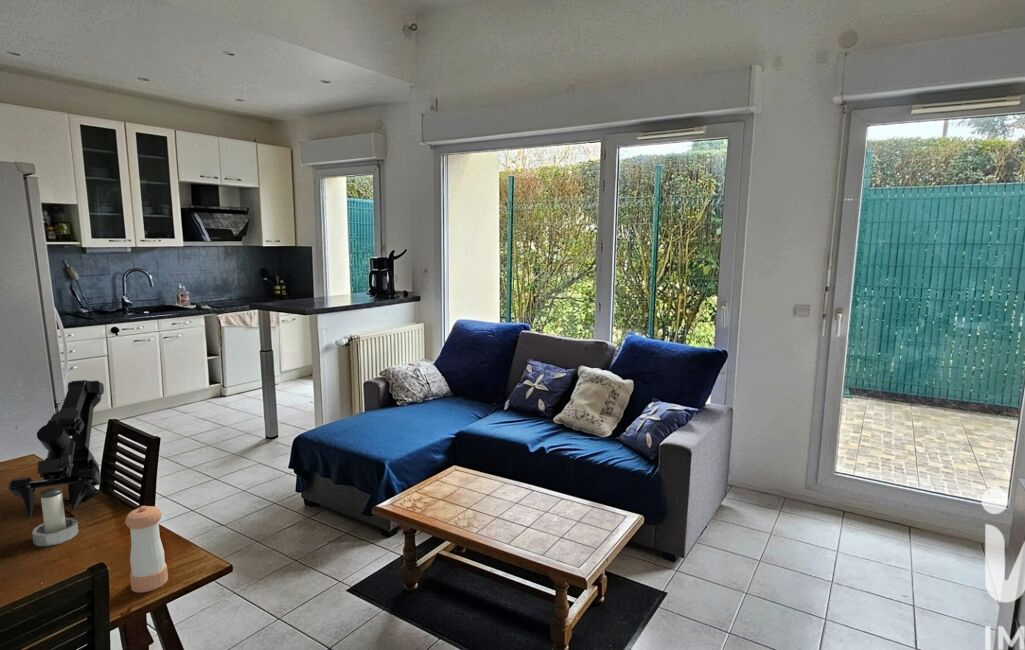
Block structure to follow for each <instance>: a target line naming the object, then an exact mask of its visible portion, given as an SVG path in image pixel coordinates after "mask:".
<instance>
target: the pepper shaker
mask: <svg viewBox="0 0 1025 650" xmlns="http://www.w3.org/2000/svg"><path fill="white" fill-rule="evenodd" d="M162 513H163V512H162V510H161V509H160V508H158V507H157V506H153V505H152V506H151V505H150V506H149V505H148V506H147V505H141V506H140V507H138V508H135V509H133V510H131V511H130V512H129V513H128V514H127V516H126V518H125V520H124V521H125V522H124V523H125V525H126V527H128V528H129V531H130V540H131V541H130V542H131V547H130V554H129V555H130V556H129V562H130V570H131V571H130V573H129V580H130V587H131V588H130V589H131V591H133V592H134V593H146V592H151V591H154V590H155V591H156V590H157V589H159V588H161V587H163V586H164V585H165V584H166V583H167V582H168V579H169V575H168V565H167V563H166V561H165V550H164V546H163V543H162V540H161V536H160V525H159V521H160V520H161V518H162V515H163V514H162Z"/></svg>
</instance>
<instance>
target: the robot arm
mask: <svg viewBox="0 0 1025 650" xmlns="http://www.w3.org/2000/svg"><path fill="white" fill-rule="evenodd" d="M104 392H105V386H104V384H103V382H100V381H99V380H86V379H81V380H71V381H69V382H68V383H67V392H66V395H65V398H64V400H63V403H62V405H61V407H60V409H59V411H57V412H55V413H54V414H53V413H52V416H51V418H50V419H49V420H48V421H47V423H46V424H44V425H42V427H41V428H39V429H38V431H37V433H36V438H37V439H38V441H39V442H40V443H41V445H42V446H43V447H44V448H45V450H47V456H46V457H45V459H44V460H39V461H37V466H36V467H37V468H36V469H37V470H36V472H37V473H36V474H37V475H39V477H40V478H43V479H39V480H33V479H32V478H31V477H30V476H26V477H25V476H24V477H17V478H13V479H12V480H11V481H10V482H9V484H8V487H7V489H8V490H9V491H10V492H11V493H12V494H13V496H15V497H20V498H21V499H22V500H23V502H24V505H25V510H26V514H27V516H28V517H29V518H31V517H32V515H33V512H34V506H35V498H36V494H35V492H36V489H39V488H45V487H46V488H47V487H55V486H62V485H68V486H67V493H68V496H67V497H66V498H64V501H65V502H71V510H72V511H75V510H76V508H77V507H78V505H79V504H80V502H86V501H88V500H90V499H91V498H93V497H94V496H96V495H98V494H100V493H101V490H100V489H98V491H95V490H96V486H99V485H101V471H100V470H101V469H100V466H99V464H98V462H97V461H96V459H95V456H94V455H93V454H92V452H91V450H90V445H91V444H90V442H91V433H92V426H93V425H92V424H93V416H94V408H95V407H97V405H98V404H99V403H100V402H101V401H102V400H101V399H102V395H104ZM94 489H95V490H94Z"/></svg>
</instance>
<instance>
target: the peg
mask: <svg viewBox="0 0 1025 650" xmlns="http://www.w3.org/2000/svg"><path fill="white" fill-rule="evenodd" d="M39 495H40V501H41V509H42V519H43V523H44V528H45V534H50V533H55V532H58V531H61V530H64V529H66V521H65V518H66V516H65V505H64V497H63V496H64V495H63V488H62V487H51V488H48V489H47V488H46V489H45V490H42V491H41V492H40V494H39Z"/></svg>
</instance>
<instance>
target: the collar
mask: <svg viewBox="0 0 1025 650" xmlns="http://www.w3.org/2000/svg"><path fill="white" fill-rule="evenodd" d="M65 521H66V529H64V530H61V531H58V532H55V533H50V534H45V528H44V522H43V523H41V524H40V525H38V526H36V527H34V528H33V530H32V532H31V535H32V536H31V537H32V542H33V544H34V545H35V546H36V547H51V546H55V545H59V544H63V543H65V542H67V541H70V540H71V539H73V538H74V537H75V536H77V535H78V532H79V526H78V525H79V524H78V520H77V519H75V518H73V517H65Z"/></svg>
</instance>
